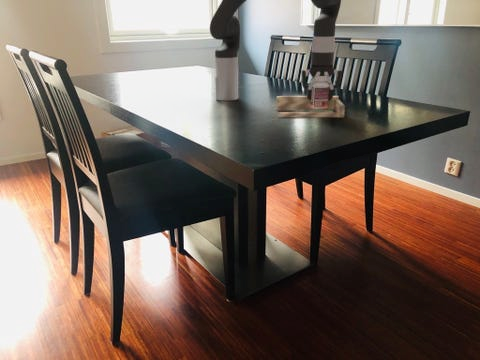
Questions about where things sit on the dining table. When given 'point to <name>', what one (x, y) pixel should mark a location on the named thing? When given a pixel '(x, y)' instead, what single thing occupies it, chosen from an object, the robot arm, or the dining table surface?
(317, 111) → the front slot
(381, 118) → the dining table surface
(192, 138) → the dining table surface
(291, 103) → the tray
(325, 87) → the pill bottle
